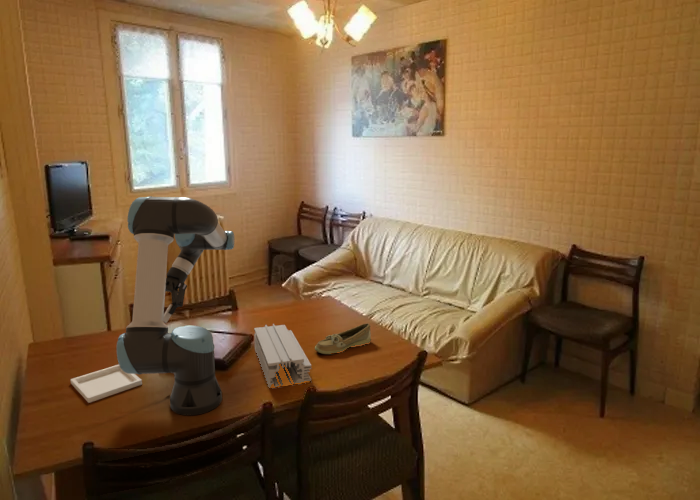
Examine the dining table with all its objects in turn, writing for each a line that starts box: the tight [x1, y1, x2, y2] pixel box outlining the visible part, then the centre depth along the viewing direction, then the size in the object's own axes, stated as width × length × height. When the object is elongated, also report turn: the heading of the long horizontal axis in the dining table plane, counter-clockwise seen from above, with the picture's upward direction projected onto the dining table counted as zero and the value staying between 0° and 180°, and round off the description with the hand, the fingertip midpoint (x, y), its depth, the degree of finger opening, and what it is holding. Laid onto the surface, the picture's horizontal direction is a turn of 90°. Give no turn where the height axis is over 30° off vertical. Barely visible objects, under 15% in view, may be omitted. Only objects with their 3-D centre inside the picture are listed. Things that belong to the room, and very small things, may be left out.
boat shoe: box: [314, 322, 372, 355], centre depth 187 cm, size 10×24×8 cm, turn 132°
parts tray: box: [70, 363, 143, 404], centre depth 154 cm, size 16×16×2 cm
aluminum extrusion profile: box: [253, 323, 312, 389], centre depth 171 cm, size 14×31×10 cm, turn 19°
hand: (151, 317), depth 185 cm, fingers open, 13 cm apart
